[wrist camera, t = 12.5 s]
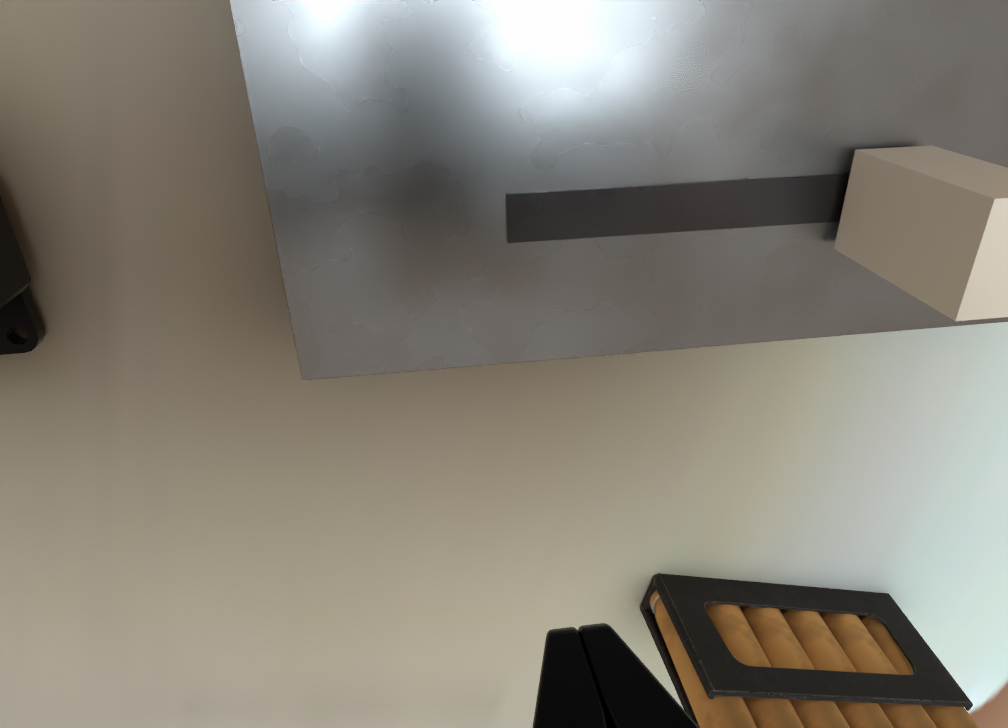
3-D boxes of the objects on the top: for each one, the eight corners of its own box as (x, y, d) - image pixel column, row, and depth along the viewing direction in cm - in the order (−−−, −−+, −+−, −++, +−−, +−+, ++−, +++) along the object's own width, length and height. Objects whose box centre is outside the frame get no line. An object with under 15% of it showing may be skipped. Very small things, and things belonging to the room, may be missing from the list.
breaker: (834, 248, 18) (955, 321, 14) (855, 149, 17) (994, 199, 13) (905, 243, 18) (1045, 313, 14) (931, 145, 17) (1092, 192, 13)
